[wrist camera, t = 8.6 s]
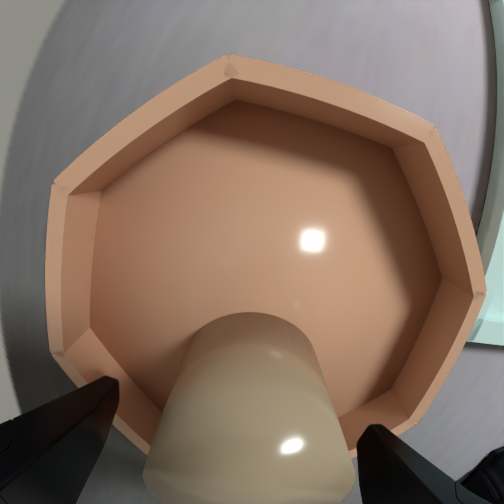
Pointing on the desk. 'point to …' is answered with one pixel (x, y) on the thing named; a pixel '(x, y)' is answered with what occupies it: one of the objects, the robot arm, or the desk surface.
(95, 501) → the desk surface
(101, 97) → the desk surface
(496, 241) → the parts tray
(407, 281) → the dish
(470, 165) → the desk surface
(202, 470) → the river pebble
